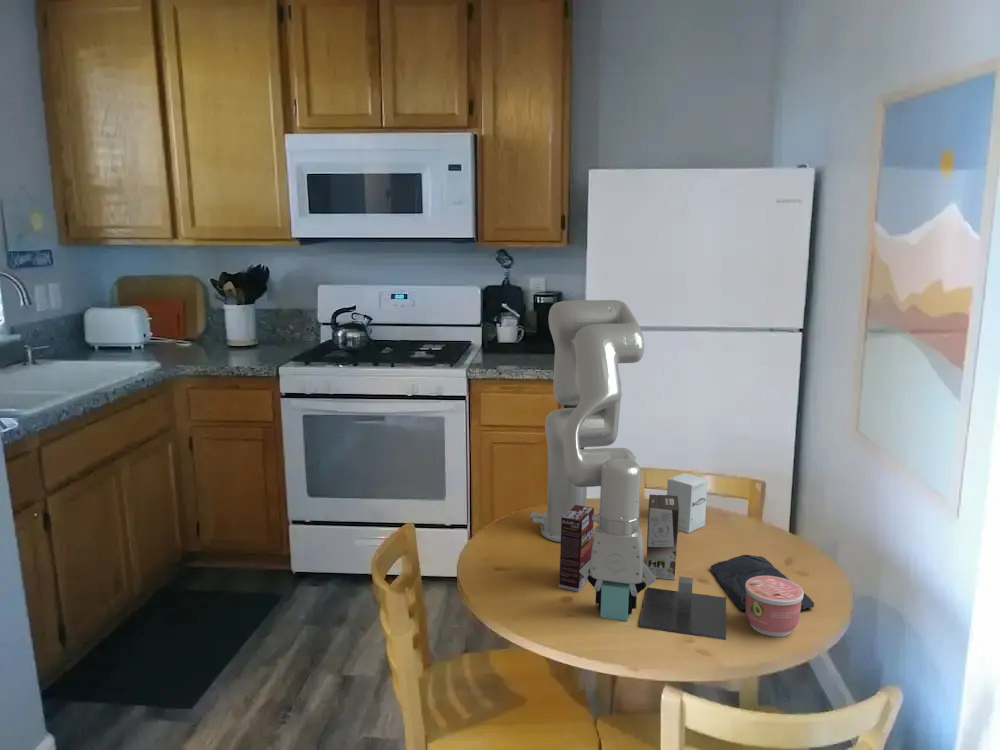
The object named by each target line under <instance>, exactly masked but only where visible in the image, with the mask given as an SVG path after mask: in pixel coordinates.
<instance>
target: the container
mask: <svg viewBox="0 0 1000 750" xmlns="http://www.w3.org/2000/svg"><path fill="white" fill-rule="evenodd" d="M745 589H746V610H745V614H746V617H747V620H748V622H749V623H750V627H752V628H753V630H754V631H756V632H758V633H759V634H762V635H765V636H769V637H774V638H775V637H777V638H779V637H786V636H789V635H790V634H791V633H792V632H793V631H794V630H795V629H796V627H797V625H798V624H799V622H800V615H801V611H800V610H801V601H802V599H803V595H804V593H805V592H804V590H803V588H802V587H801V586H800V585H799V584H797V583H796V582H794V581H792V580H790V579H789V580H787V579H784V578H780V577H775V576H756V577H753V578H750V579H749V580H747V582H746V585H745ZM788 634H789V635H788Z"/></svg>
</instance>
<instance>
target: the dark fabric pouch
mask: <svg viewBox="0 0 1000 750" xmlns="http://www.w3.org/2000/svg"><path fill="white" fill-rule="evenodd" d="M710 569H711V571H712V573H713V574H714V576H715V578H716V579H717V581H718V584H719V585H721V587H722V589H723V590H724V591H725V593H726V594H727V595H728V597H729V598H730V599H731V600H732V601H733V603H734V604H735V605H737V607H738V608H739V609H741V610H742V611H746V589H745V585H746V582H747V580H749V579H750V578H753V577H756V576H775V577H780V578H784V579H787V580H790V579H789V578H787V576H786V575H785V574H784V573H782V572H781V571H780V570H779V569H777V568H776V566H774V565H773V564H772V563H771V562H770V561H769V560H768V559H766V558H765V557H763V556H760V555H759V556H757V555H751V554H741V555H739V556H735V557H732V558H729V559H727V560H721V561H718V562H716V563H713V564H712V565H710ZM814 607H815V602H814V601H813V600H812V599H811V598H810V597H809V596H808V595H807V594H806V593H805V592H804V595H803V599H802V601H801V610H800V612H803V610H806V609H810V608H814Z"/></svg>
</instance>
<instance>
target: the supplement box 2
mask: <svg viewBox="0 0 1000 750" xmlns="http://www.w3.org/2000/svg"><path fill="white" fill-rule="evenodd" d="M708 480H709V479H708V478H705V477H701V476H698V475H695V474H694V475H693V474H690V473H686V472H682V473H679V474H677V475H674V476H672V477H669V478H667V486H666V487H667V488H666V495H672V496H678V504H679V517H678V531H680V532H683V533H685V534H686V533H687V534H690V533H692V532H694V531H696V530H698V529H700V528H702V527H705V526H706V513H707V512H706V511H707V499H708V498H707V497H708V496H707V495H708V483H709V481H708Z"/></svg>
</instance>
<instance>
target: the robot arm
mask: <svg viewBox="0 0 1000 750" xmlns="http://www.w3.org/2000/svg"><path fill="white" fill-rule="evenodd" d="M548 327H549V331H550V334H551V337H552V340H553V344H554V363H553V382H552V383H553V384H552V387H553V388H552V389H553V398H554V399H555V401H556V403H558V404H560V405H562V406H575V407H566V408H563V407H562V408H558V409H555V410H552V411H551V412H549V413H548V414H547V415H546V418H545V421H544V431H545V437H546V439H545V440H546V445H547V504H546V505H547V511H546V512H543V513H539V512H533V511H532V512H531V513H530V521H532V523H533V524H539V525H540V534H541V535H542V536H543V537H544V538H546V540H549V541H553V542H558V543H561V518H562V517H563V516H564V515H566V514H567V513H568V512H569V511H570V510H571V509H572V508H573V507H574V505H580V506H586V507H587V500H588V499H587V495H588V491H587V490H588V488H591V487H592V488H593V487H600V491H599V492H600V493H599V494H600V495H599V496H600V497H599V512H598V513H596V514H595V513H594V514H593V515H592V521H593V522H595V523H597V526H596V527H595V529H594V531H593V542H592V550H591V558H590V559H589V560H588V561H587V562H586V563H585V564H584V565H582V566H581V568H580V570H579V572H580V573H581V574H582V575H583V576H584V577H585V578H587V582H589V584H590V585H591V586H592V587H593V590H594V591H595V604H597V605H598V608H597V609H598V611H601V588H602V583H603V581H609V582H617V583H625V584H629V588H630V594H629V603H628V614H629V615H632V613H633V610H636V609H637V597H638V594H639V593H641V592H642V591H643V590H645V589H647V587H649V586H651V585H652V584H654V583H655V581H656V578H655V576H654V575H653V573H652V572H651V571H650V569H649V568H648V567H647V565H646V563H645V548H644V536H643V531H642V529H641V528H640V527H639V526H640V501H641V479H642V469H641V466H640V465H639V464H638V459H637V458H636V456H635V455H634V454H633V452H632V450H631V449H628V448H626V447H608V446H611V445H613V444H614V443H615V441H616V440H617V437H618V432H619V425H620V424H619V423H620V409H621V401H622V400H621V399H622V394H623V393H622V381H621V377H620V371H619V370H620V369H619V364H636V363H638V362H640V361H641V360H642V358H643V356H644V354H645V339H644V336H643V331H642V329H641V326H640V324H639V322H638V321H637V319H636V317H635V316H634V314H633V313H632V311H631V309H630V307H629V306H628V305H627V304H626V303H625V302H624V301H621V300H615V299H598V300H597V299H590V300H589V299H581V300H574V299H572V300H562V301H559V302H555V303H554V304H552V305H551V307H550V309H549V313H548ZM594 447H595V448H594ZM596 447H597V448H596ZM598 447H600V448H598ZM589 569H590V571H589ZM643 577H645V578H644V579H643Z"/></svg>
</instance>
